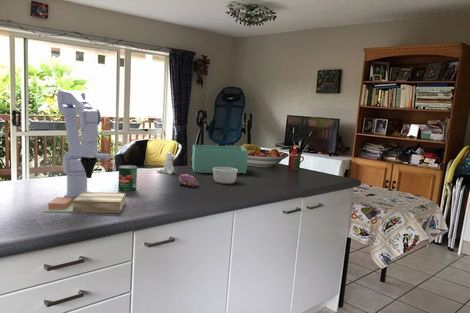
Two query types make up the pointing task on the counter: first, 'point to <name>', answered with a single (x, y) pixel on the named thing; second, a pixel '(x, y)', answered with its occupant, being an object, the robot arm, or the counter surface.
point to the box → (218, 158)
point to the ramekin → (224, 174)
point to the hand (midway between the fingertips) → (89, 177)
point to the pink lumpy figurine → (188, 178)
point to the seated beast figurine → (167, 164)
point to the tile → (60, 203)
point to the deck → (99, 202)
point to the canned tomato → (127, 178)
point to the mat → (69, 209)
